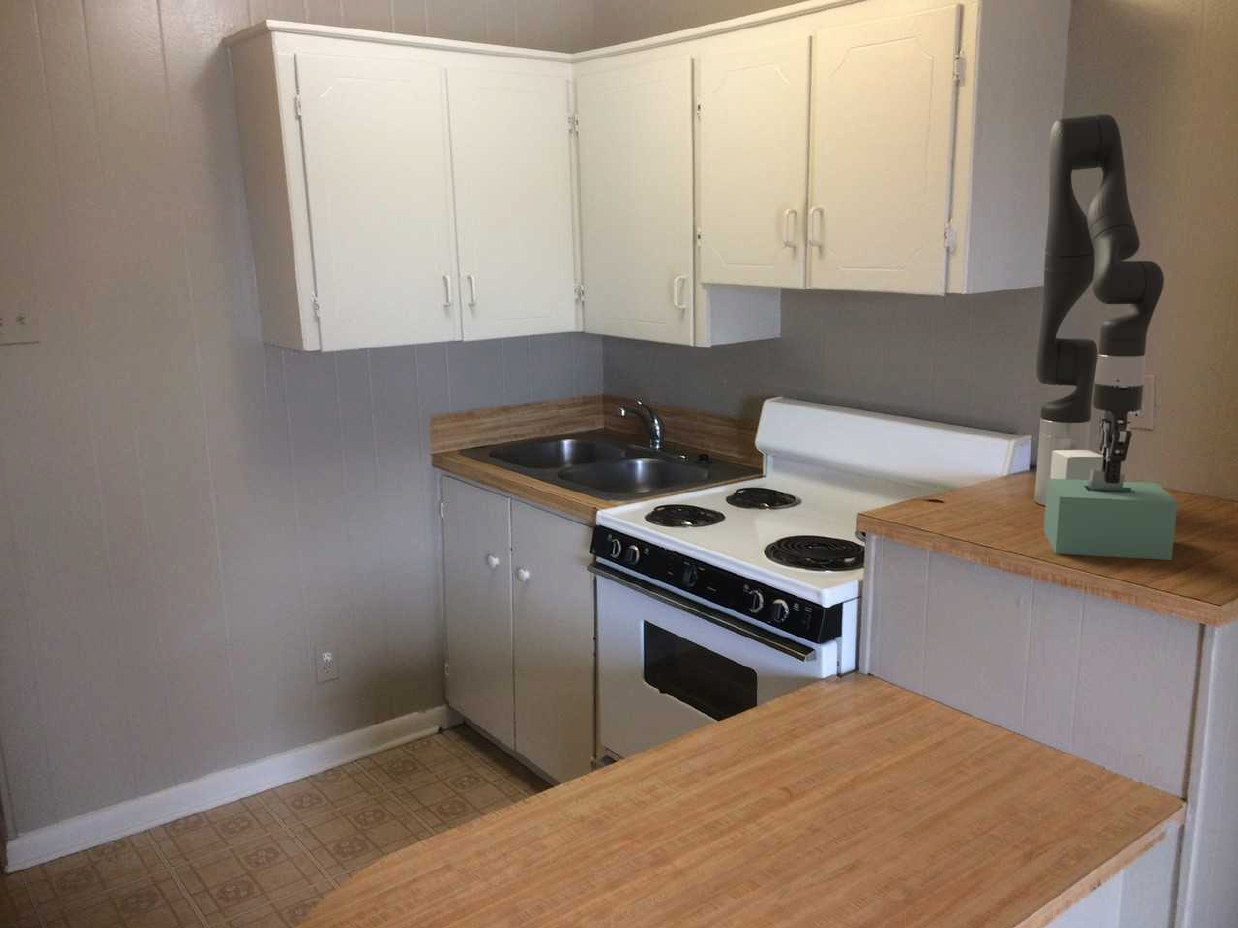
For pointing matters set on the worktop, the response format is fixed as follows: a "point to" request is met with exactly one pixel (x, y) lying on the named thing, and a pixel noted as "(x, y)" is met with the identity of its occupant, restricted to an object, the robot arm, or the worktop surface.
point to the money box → (1110, 520)
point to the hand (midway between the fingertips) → (1110, 480)
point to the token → (1103, 482)
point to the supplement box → (1074, 464)
